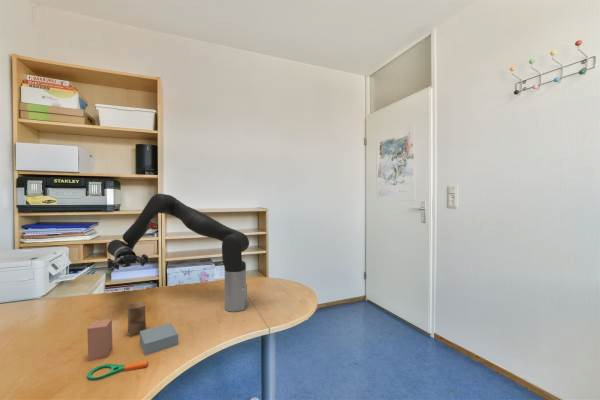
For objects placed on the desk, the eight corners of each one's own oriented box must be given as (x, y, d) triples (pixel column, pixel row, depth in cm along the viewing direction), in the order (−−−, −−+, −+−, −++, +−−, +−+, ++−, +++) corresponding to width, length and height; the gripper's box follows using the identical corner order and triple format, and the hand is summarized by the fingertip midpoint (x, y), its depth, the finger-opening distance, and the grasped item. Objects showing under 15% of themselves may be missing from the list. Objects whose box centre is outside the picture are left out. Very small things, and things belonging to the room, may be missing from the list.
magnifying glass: (82, 384, 76) (82, 378, 75) (92, 370, 81) (92, 364, 81) (145, 373, 80) (144, 368, 80) (149, 361, 86) (149, 355, 86)
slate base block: (170, 333, 102) (170, 322, 102) (178, 345, 94) (178, 334, 94) (139, 342, 96) (139, 331, 96) (144, 356, 88) (144, 344, 88)
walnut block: (143, 327, 106) (142, 301, 105) (145, 332, 102) (145, 305, 101) (127, 331, 103) (127, 304, 102) (129, 337, 99) (129, 309, 98)
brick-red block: (112, 348, 91) (111, 319, 91) (107, 357, 87) (106, 326, 86) (94, 351, 90) (93, 321, 89) (88, 360, 85) (87, 328, 85)
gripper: (105, 249, 118) (108, 258, 105) (143, 246, 127) (150, 253, 114) (105, 267, 118) (109, 277, 105) (143, 262, 127) (150, 271, 114)
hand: (130, 265), depth 110 cm, fingers open, 8 cm apart
